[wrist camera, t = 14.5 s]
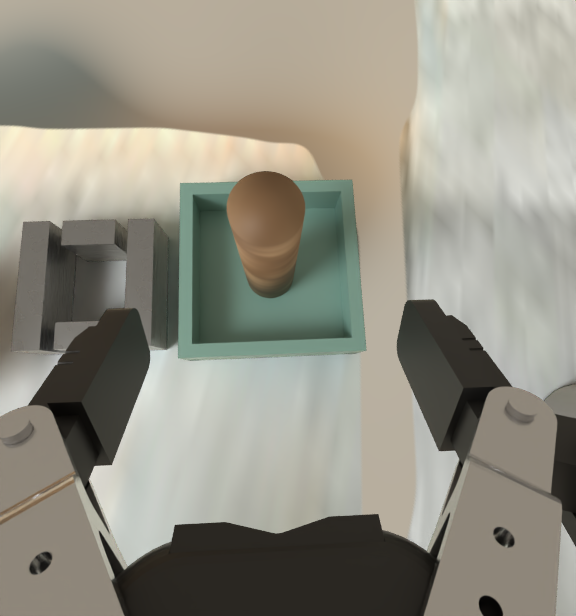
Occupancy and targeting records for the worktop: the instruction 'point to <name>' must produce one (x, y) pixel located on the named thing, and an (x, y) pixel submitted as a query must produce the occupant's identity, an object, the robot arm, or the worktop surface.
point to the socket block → (61, 274)
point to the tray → (269, 311)
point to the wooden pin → (267, 229)
